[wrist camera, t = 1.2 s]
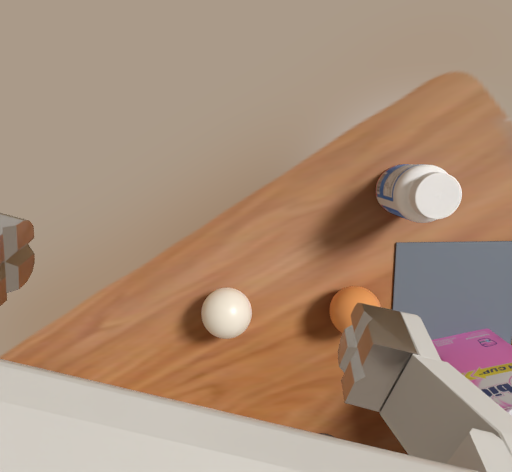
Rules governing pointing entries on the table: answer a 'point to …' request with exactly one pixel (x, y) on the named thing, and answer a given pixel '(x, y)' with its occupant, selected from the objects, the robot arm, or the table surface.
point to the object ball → (349, 305)
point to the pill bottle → (418, 192)
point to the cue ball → (226, 313)
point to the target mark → (456, 286)
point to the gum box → (481, 362)
